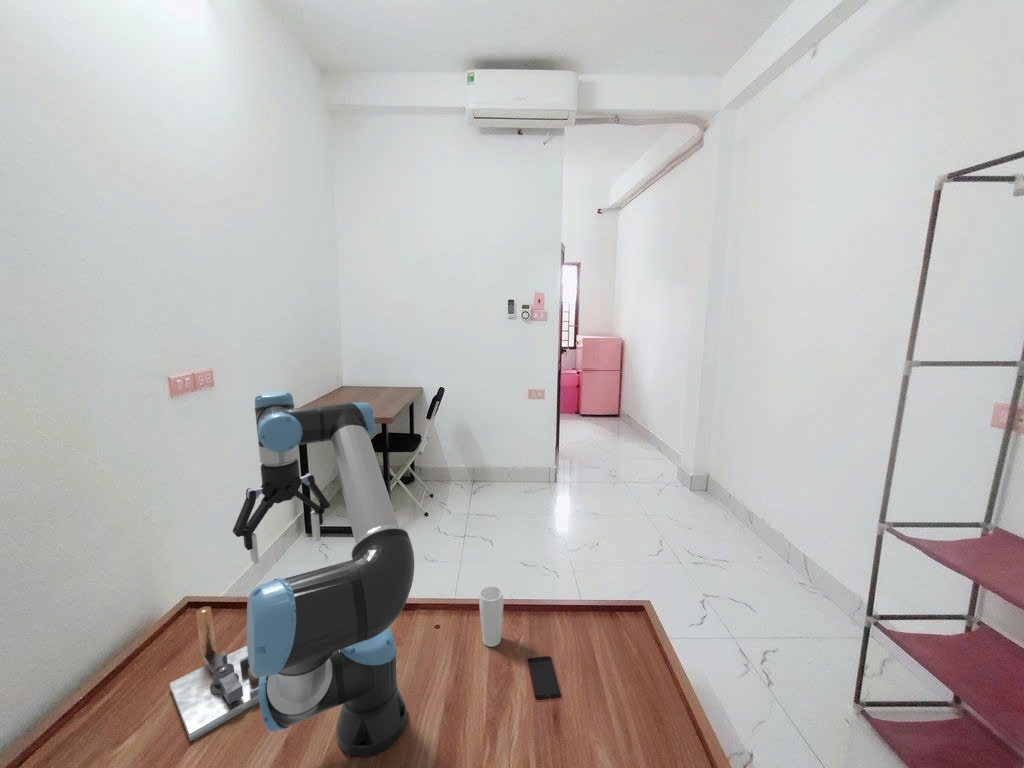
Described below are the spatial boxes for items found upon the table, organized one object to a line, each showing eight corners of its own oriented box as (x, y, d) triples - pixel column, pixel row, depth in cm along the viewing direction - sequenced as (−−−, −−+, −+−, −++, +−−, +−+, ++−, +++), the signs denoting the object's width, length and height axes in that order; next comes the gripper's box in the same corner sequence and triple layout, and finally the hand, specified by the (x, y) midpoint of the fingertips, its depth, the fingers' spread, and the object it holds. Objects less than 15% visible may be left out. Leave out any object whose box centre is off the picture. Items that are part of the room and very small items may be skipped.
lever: (246, 694, 107) (240, 643, 105) (225, 706, 104) (219, 653, 101) (216, 649, 121) (211, 603, 119) (197, 658, 118) (191, 611, 116)
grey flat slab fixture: (281, 689, 112) (279, 667, 111) (190, 741, 98) (187, 717, 97) (254, 648, 125) (252, 629, 124) (170, 690, 112) (167, 668, 111)
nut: (268, 677, 113) (267, 666, 112) (253, 687, 110) (251, 675, 109) (261, 670, 115) (260, 659, 114) (246, 679, 112) (245, 668, 112)
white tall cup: (508, 638, 129) (507, 590, 127) (494, 653, 123) (494, 603, 121) (488, 629, 133) (488, 583, 130) (475, 643, 127) (474, 595, 125)
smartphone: (534, 701, 108) (526, 657, 122) (534, 703, 108) (526, 659, 122) (563, 698, 109) (551, 655, 122) (563, 700, 109) (551, 657, 122)
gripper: (326, 445, 112) (332, 525, 115) (209, 471, 94) (220, 565, 97) (340, 451, 107) (346, 535, 110) (220, 480, 89) (230, 579, 92)
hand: (287, 549), depth 104 cm, fingers open, 13 cm apart
